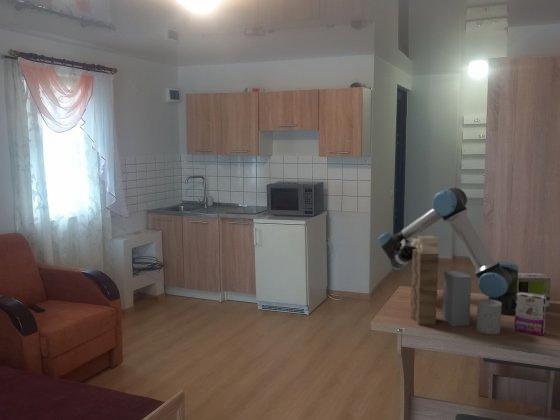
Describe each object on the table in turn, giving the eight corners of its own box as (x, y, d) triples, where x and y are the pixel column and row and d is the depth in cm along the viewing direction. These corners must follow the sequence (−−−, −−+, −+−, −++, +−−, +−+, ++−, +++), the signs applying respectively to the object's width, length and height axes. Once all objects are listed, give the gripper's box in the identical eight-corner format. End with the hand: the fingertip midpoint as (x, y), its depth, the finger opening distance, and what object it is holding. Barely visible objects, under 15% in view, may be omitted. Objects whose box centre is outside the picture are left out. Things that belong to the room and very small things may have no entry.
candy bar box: (544, 332, 219) (547, 295, 216) (542, 336, 214) (545, 298, 212) (515, 327, 225) (518, 290, 222) (513, 330, 221) (516, 293, 218)
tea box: (541, 301, 259) (543, 272, 257) (549, 307, 250) (551, 278, 247) (510, 300, 261) (511, 272, 259) (517, 307, 251) (519, 277, 249)
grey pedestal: (442, 318, 236) (444, 271, 233) (459, 317, 237) (461, 270, 234) (451, 326, 226) (453, 277, 223) (469, 325, 227) (471, 276, 224)
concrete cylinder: (505, 331, 220) (506, 303, 218) (490, 335, 215) (491, 307, 213) (486, 324, 228) (487, 297, 226) (471, 328, 223) (472, 301, 222)
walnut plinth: (410, 317, 238) (412, 249, 233) (427, 316, 239) (429, 248, 234) (418, 324, 228) (420, 254, 223) (435, 324, 229) (438, 253, 224)
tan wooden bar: (406, 244, 243) (406, 230, 242) (420, 244, 244) (421, 229, 243) (421, 254, 223) (422, 238, 222) (437, 253, 224) (438, 237, 223)
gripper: (430, 261, 255) (446, 248, 236) (381, 263, 253) (393, 250, 233) (428, 247, 258) (444, 233, 238) (379, 248, 256) (391, 234, 236)
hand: (419, 241), depth 236 cm, fingers open, 13 cm apart
